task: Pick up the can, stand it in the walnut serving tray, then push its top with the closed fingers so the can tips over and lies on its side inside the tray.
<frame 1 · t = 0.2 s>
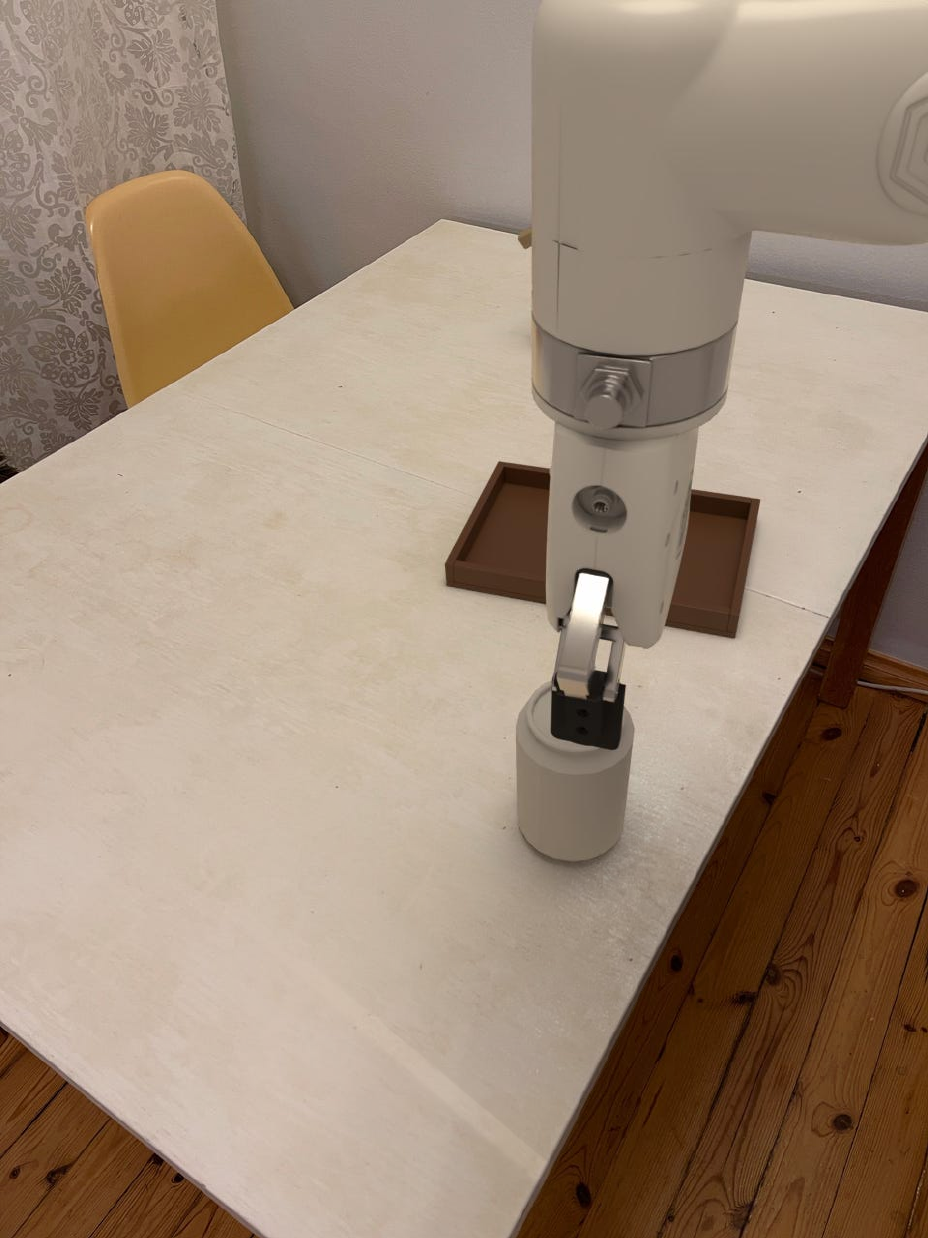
hand: (606, 667, 48), 22 cm above the table, tool pointing down, fingers open, 9 cm apart
can: (570, 824, 68), on the table
tankard: (600, 346, 119), on the table
tray: (605, 552, 90), on the table
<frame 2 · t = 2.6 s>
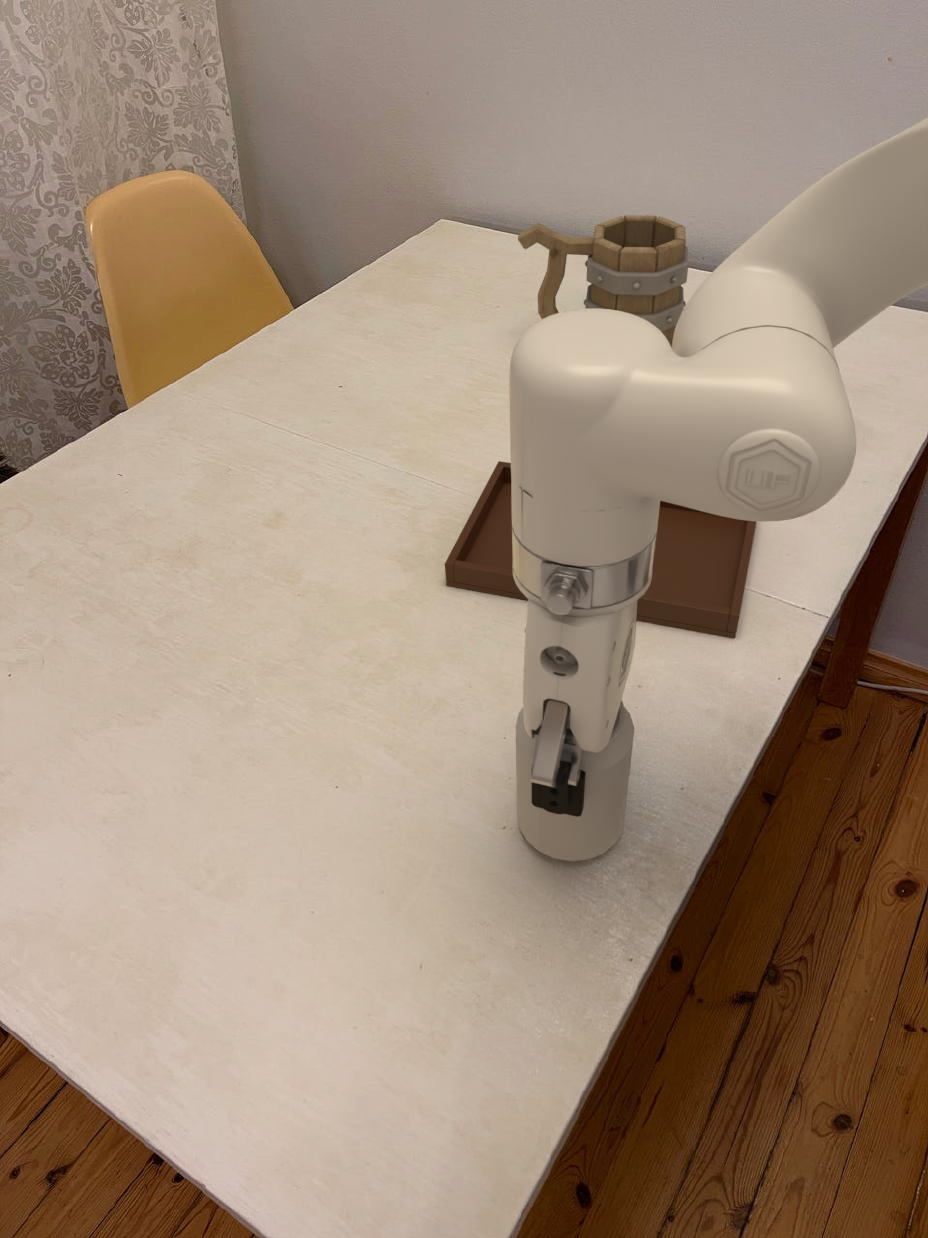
hand: (573, 757, 63), 7 cm above the table, tool pointing down, fingers closed on can, 7 cm apart
can: (570, 824, 68), on the table, touching gripper
everything else where it was.
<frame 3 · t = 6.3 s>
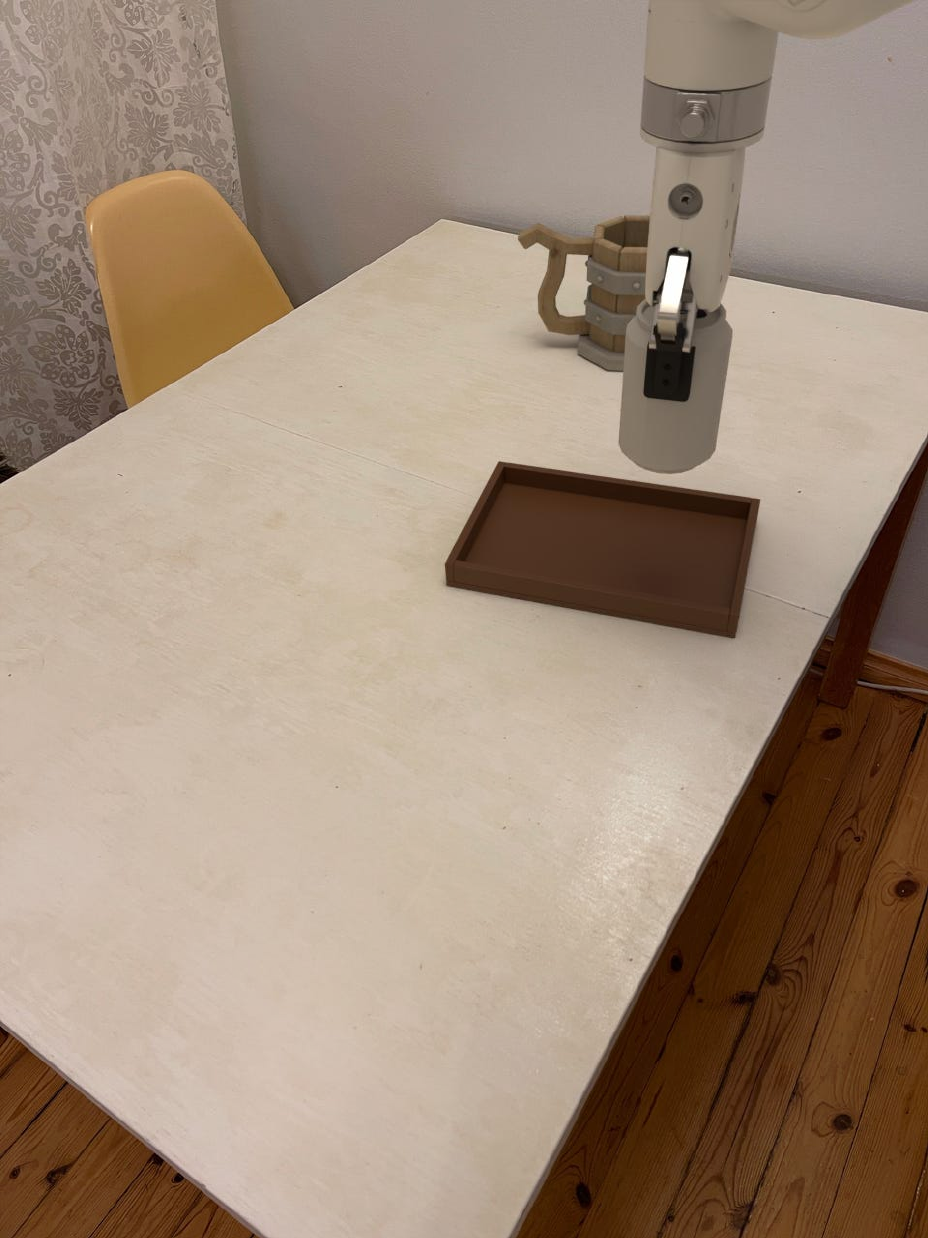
hand: (675, 368, 71), 22 cm above the table, tool pointing down, fingers closed on can, 7 cm apart
can: (665, 454, 76), point 14 cm above the table, touching gripper
everything else where it was.
when the fingers open (8 cm above the table, at t = 10.3 s): can stays where it is, resting on tray.
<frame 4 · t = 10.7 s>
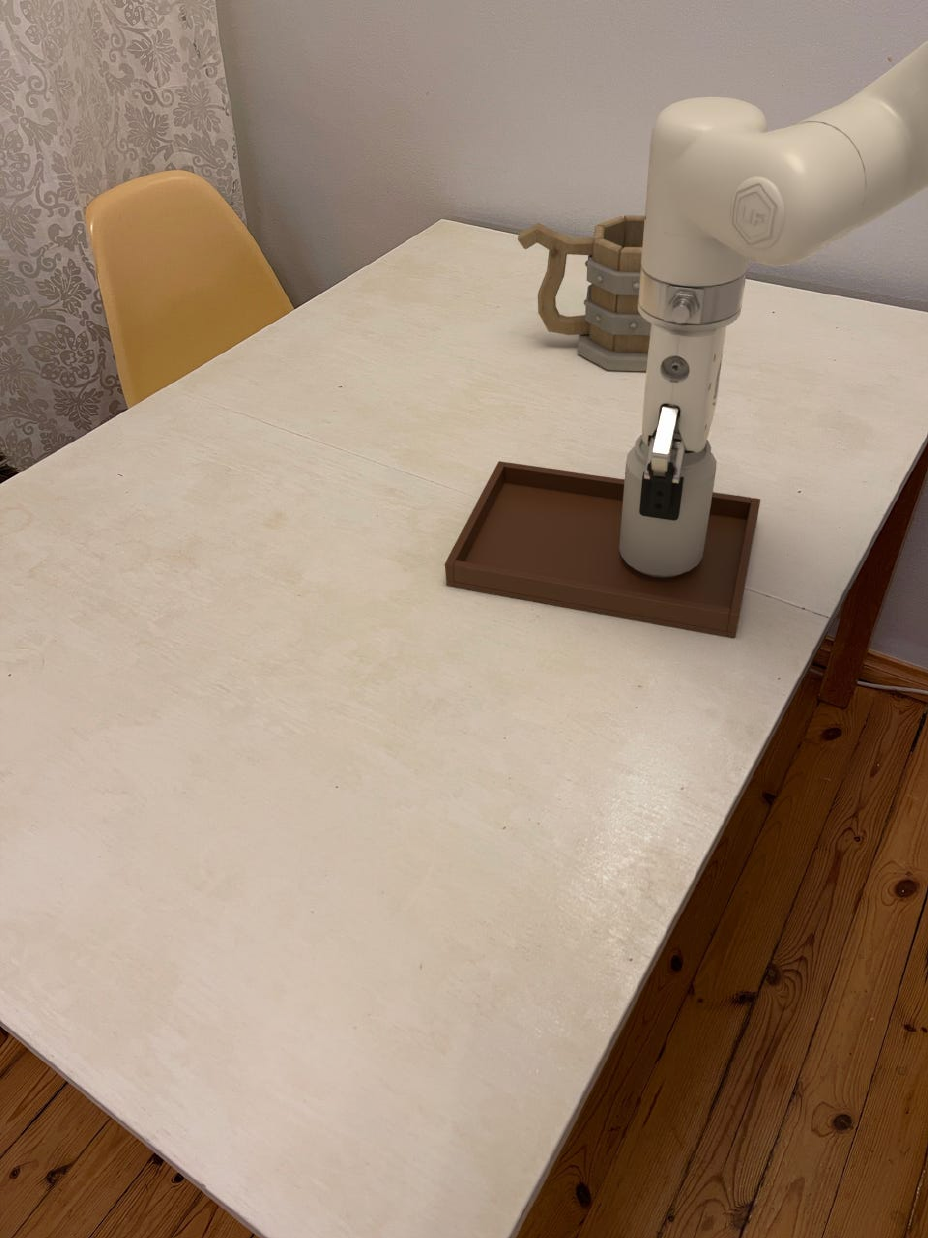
hand: (668, 482, 82), 9 cm above the table, tool pointing down, fingers open, 9 cm apart
can: (659, 558, 88), resting on tray
everything else where it was.
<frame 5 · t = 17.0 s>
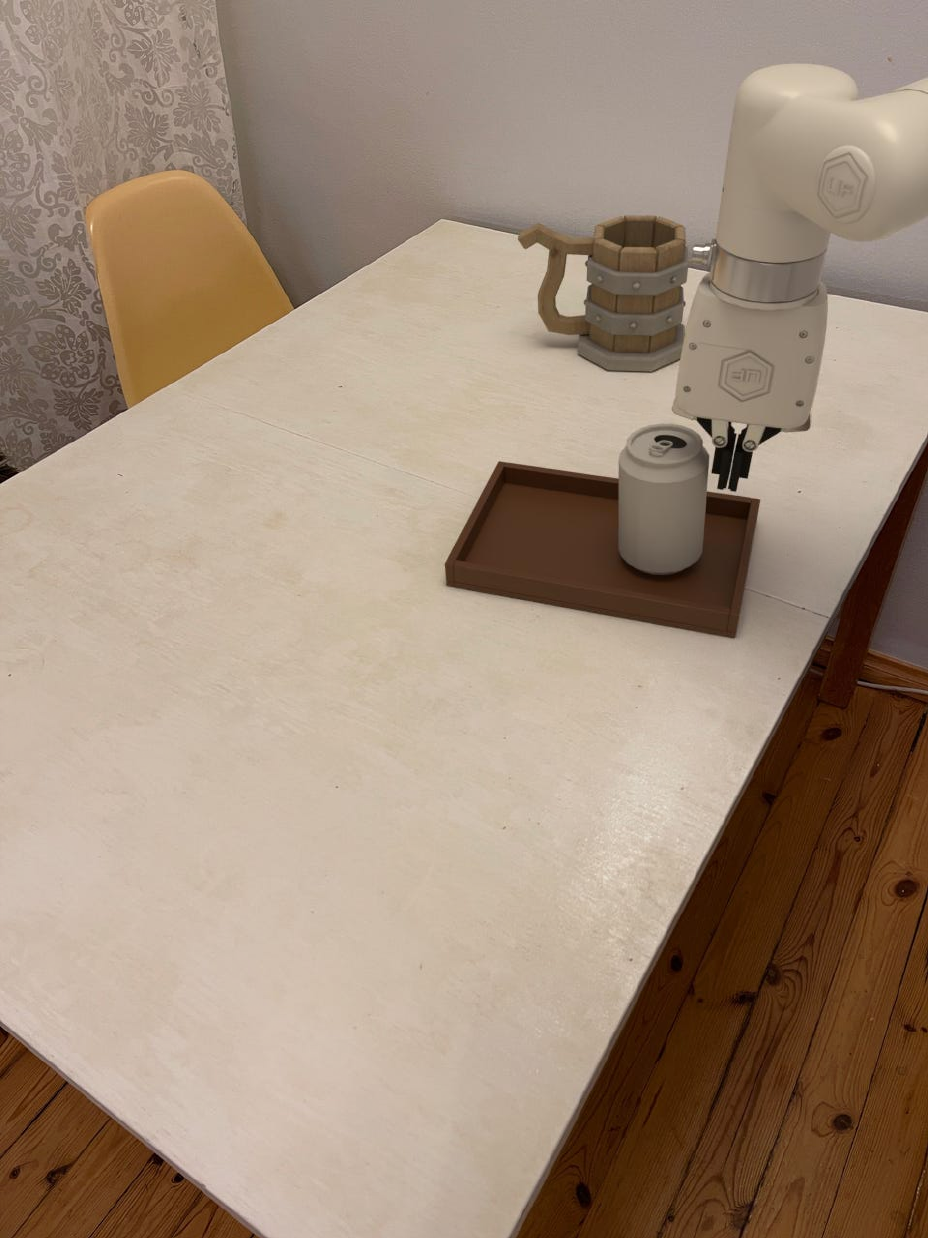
hand: (728, 480, 81), 10 cm above the table, tool pointing down, fingers closed
can: (660, 556, 88), point 1 cm above the table, touching gripper, tray
everything else where it was.
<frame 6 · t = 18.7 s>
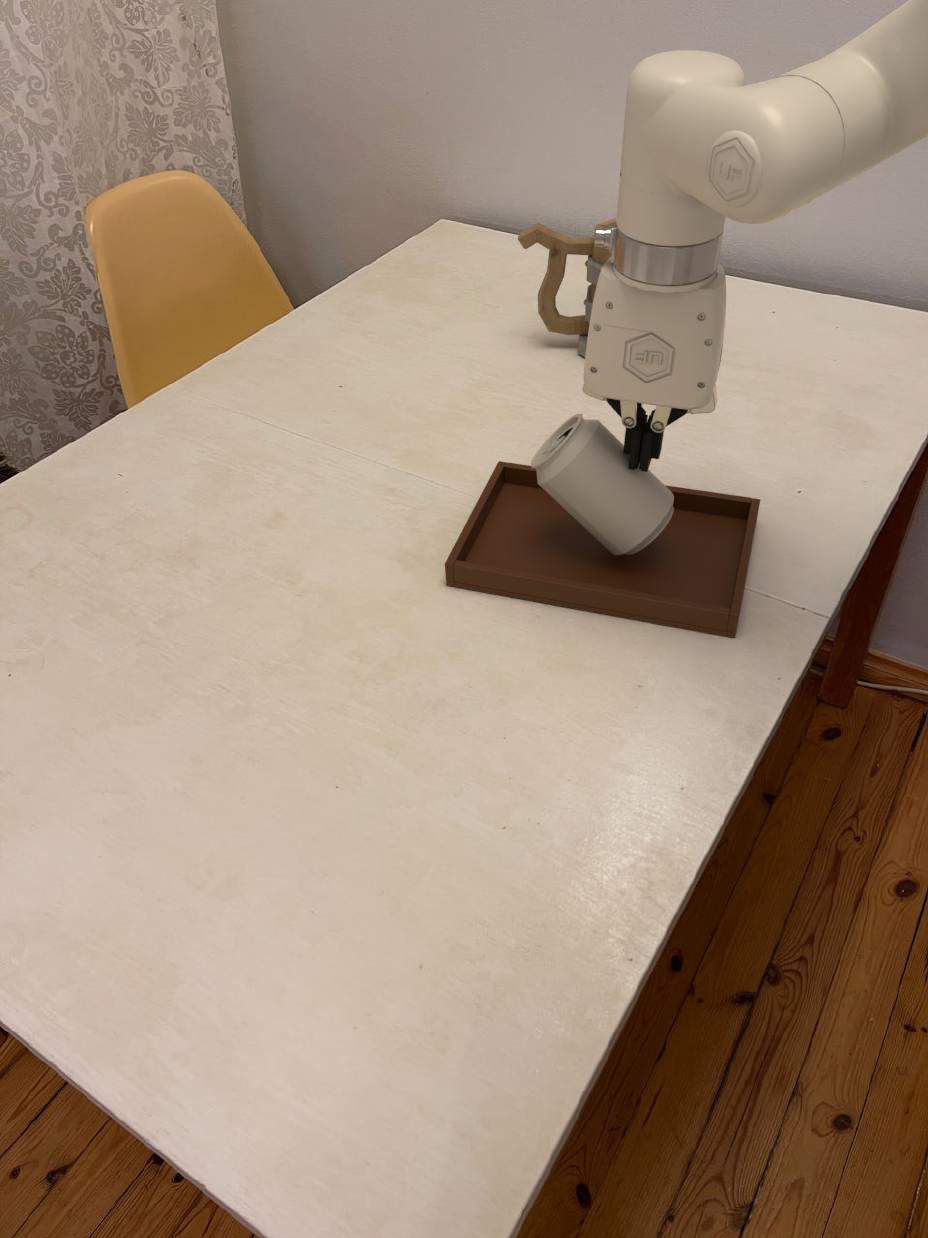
hand: (641, 461, 82), 10 cm above the table, tool pointing down, fingers closed
can: (650, 531, 86), point 3 cm above the table, touching gripper, tray
everything else where it was.
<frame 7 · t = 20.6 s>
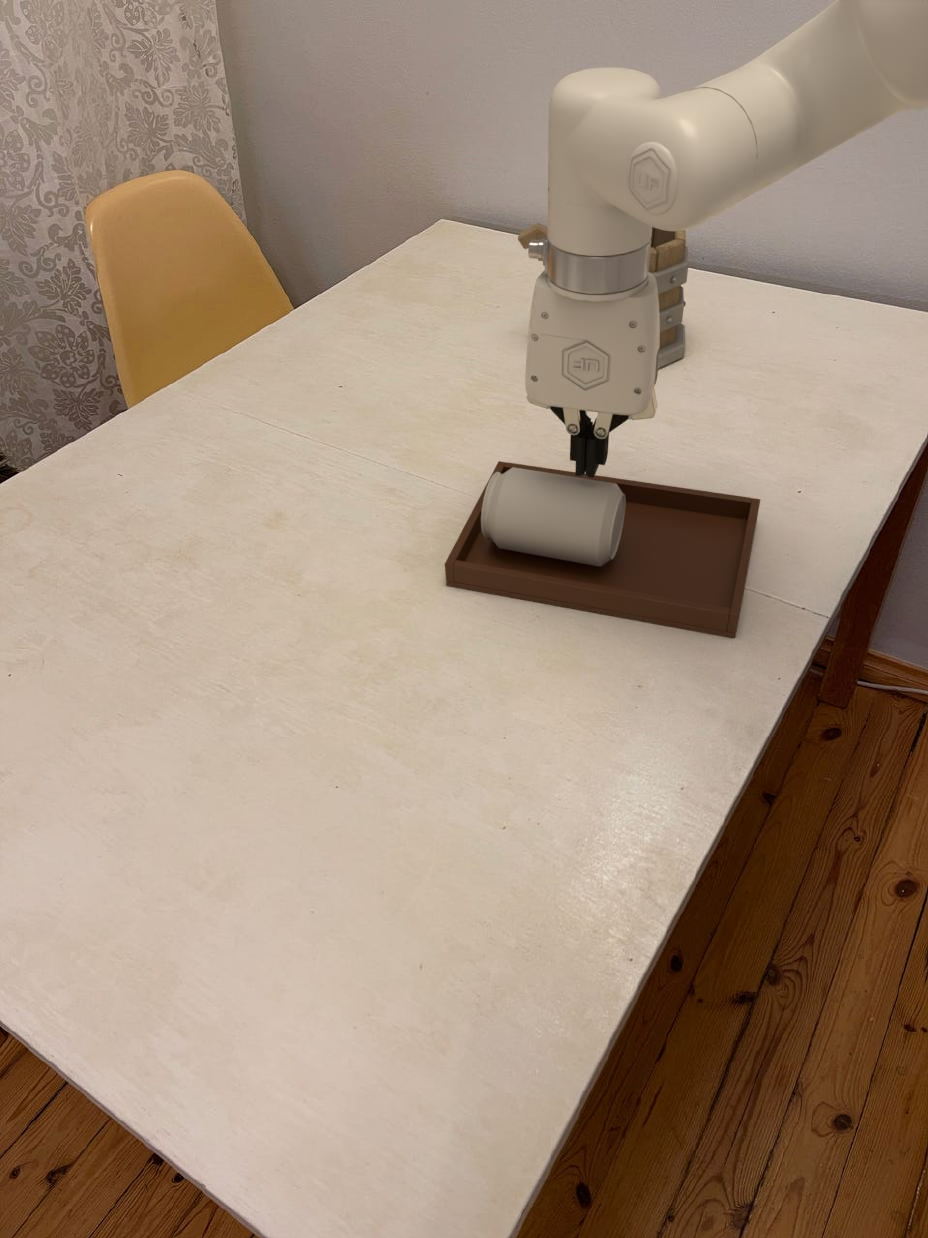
hand: (588, 467, 84), 9 cm above the table, tool pointing down, fingers closed
can: (620, 527, 85), point 4 cm above the table, touching tray
everything else where it was.
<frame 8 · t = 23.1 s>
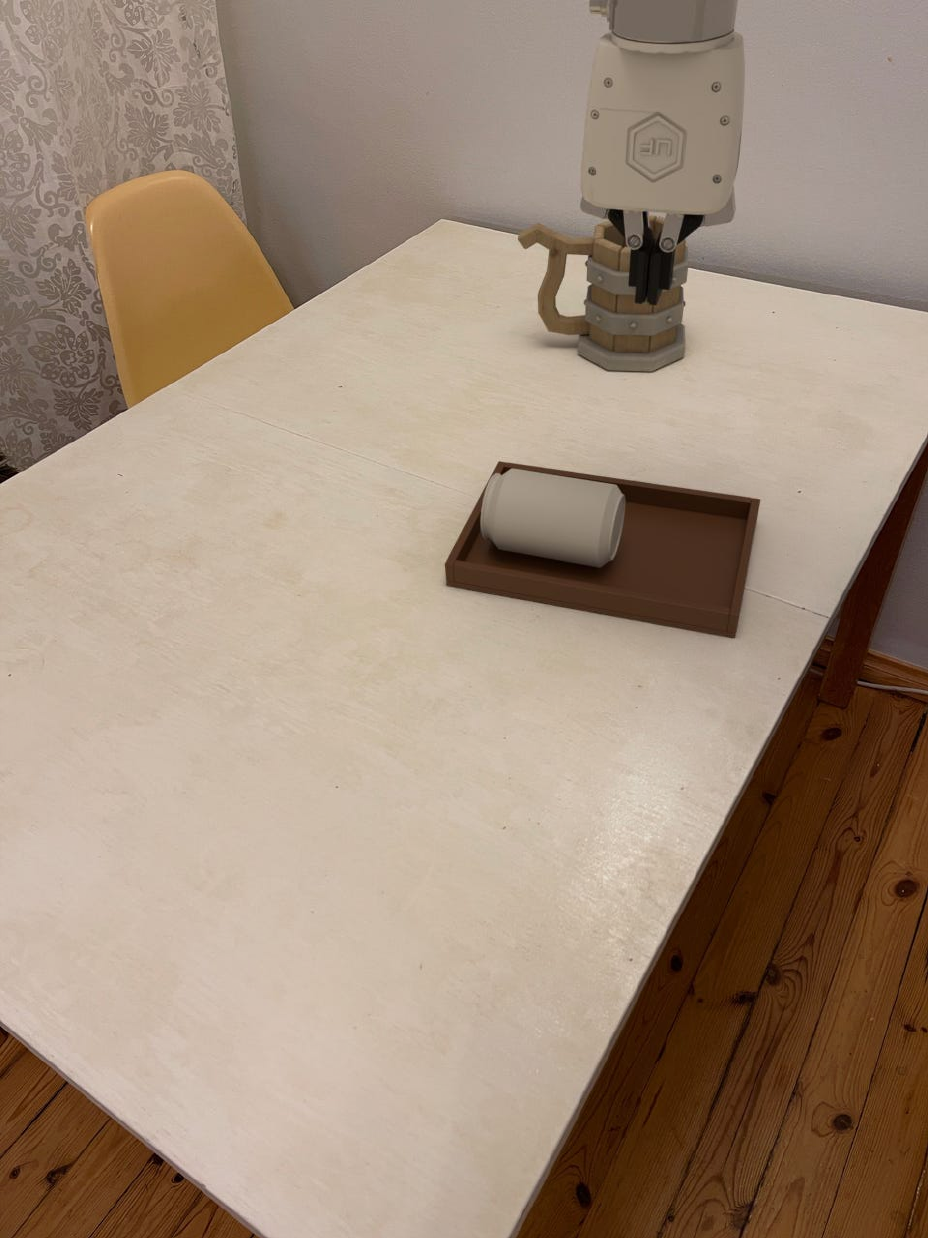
hand: (649, 296, 72), 25 cm above the table, tool pointing down, fingers closed
nothing on the table moved.
at the end: can tilted 90°; can inside the target area on the tray (2.2 cm from its centre), point 4.3 cm above the tray's base; the gripper is holding nothing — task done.
